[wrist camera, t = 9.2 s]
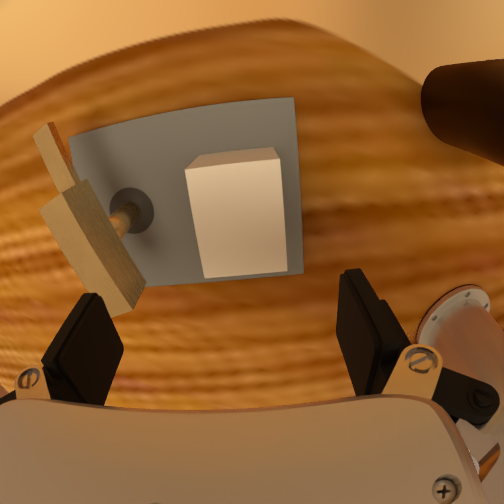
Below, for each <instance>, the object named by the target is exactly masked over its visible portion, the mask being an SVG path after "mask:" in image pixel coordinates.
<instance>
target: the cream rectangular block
mask: <svg viewBox="0 0 504 504" xmlns="http://www.w3.org/2000/svg"><path fill="white" fill-rule="evenodd" d="M185 175H186V181H187V187H188V193H189V198H190V204H191V210H192V215H193V221H194V226H195V232H196V237H197V242H198V248H199V253H200V258H201V263H202V268H203V273H204V278H216V277H228V276H240V275H251V274H262V273H273V272H283V271H287V252H286V236H285V220H284V205H283V191H282V178H281V166H280V158H279V156H278V155H277V153H276V151H275V149H274V148H273V147H265V148H255V149H245V150H235V151H227V152H219V153H211V154H203V155H199V156H198V157H197V158H196V159H195V160H194V161H193V162H192V163H191V164H190V165H189V166H188V167H187V168H186V169H185Z"/></svg>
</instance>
